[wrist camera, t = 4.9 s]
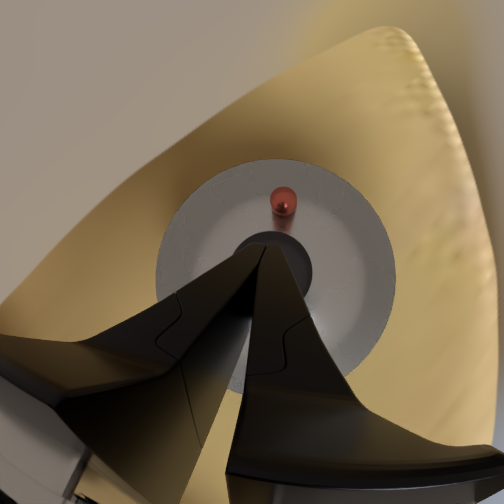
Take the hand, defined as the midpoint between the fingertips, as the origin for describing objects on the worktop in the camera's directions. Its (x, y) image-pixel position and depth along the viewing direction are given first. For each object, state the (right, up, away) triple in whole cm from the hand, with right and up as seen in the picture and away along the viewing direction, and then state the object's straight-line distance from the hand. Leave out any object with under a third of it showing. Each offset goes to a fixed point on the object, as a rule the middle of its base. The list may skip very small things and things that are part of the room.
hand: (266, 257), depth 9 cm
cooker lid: (+1, -1, +4) cm, 4 cm away
